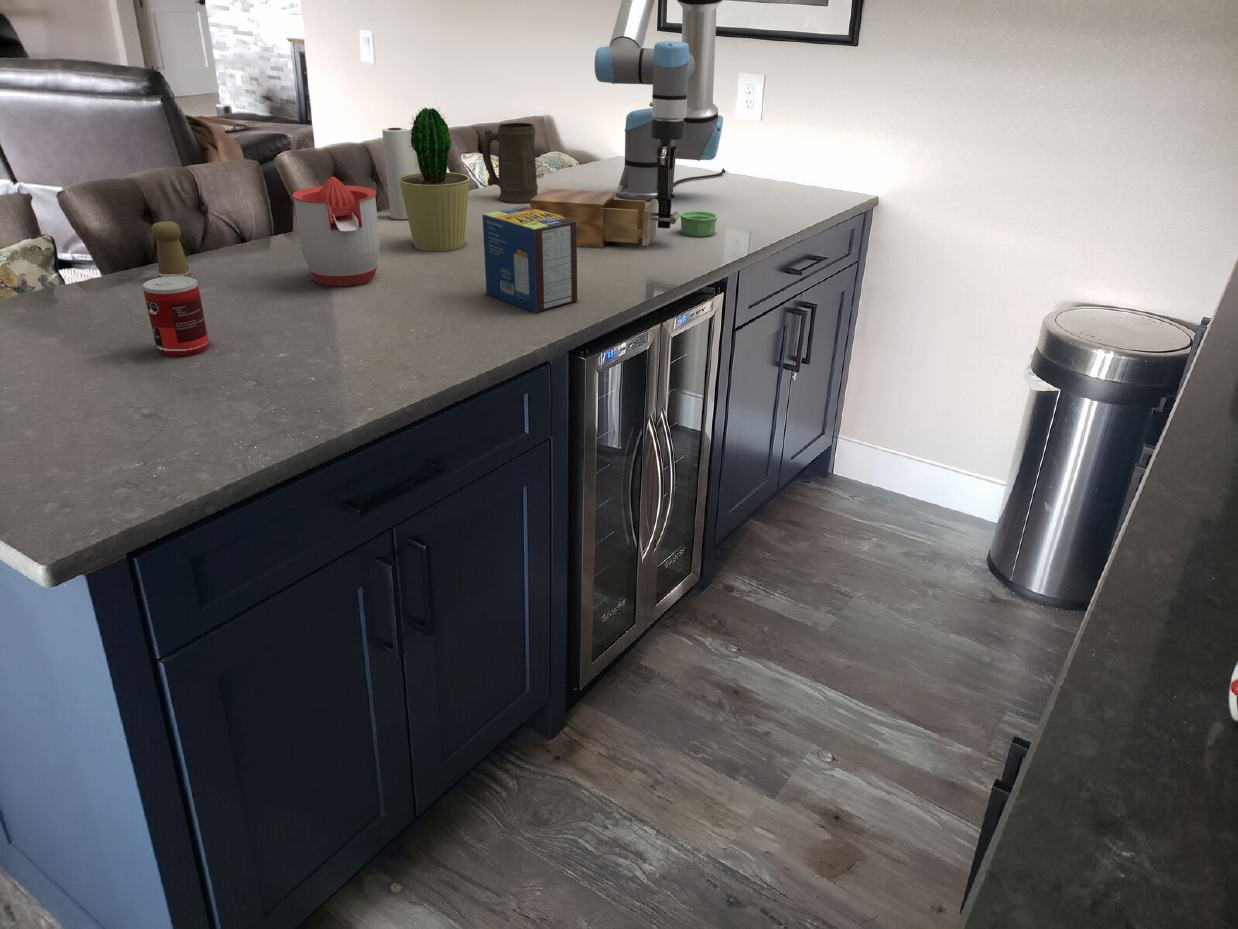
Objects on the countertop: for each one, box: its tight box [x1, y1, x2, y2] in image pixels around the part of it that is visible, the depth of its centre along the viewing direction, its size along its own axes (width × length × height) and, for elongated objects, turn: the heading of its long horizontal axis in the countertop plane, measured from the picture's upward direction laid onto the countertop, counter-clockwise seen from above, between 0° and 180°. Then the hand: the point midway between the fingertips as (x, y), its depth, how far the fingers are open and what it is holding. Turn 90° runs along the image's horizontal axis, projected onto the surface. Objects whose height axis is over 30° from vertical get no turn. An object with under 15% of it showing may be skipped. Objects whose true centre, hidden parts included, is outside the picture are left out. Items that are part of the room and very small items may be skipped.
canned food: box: [142, 276, 210, 357], centre depth 148 cm, size 8×8×11 cm
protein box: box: [482, 205, 578, 313], centre depth 174 cm, size 10×15×16 cm
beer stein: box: [481, 122, 539, 204], centre depth 252 cm, size 15×11×20 cm
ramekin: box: [679, 210, 718, 238], centre depth 225 cm, size 9×9×4 cm
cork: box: [150, 220, 193, 278], centre depth 182 cm, size 6×6×11 cm
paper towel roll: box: [381, 127, 421, 220], centre depth 229 cm, size 7×6×21 cm
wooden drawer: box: [603, 198, 680, 247], centre depth 215 cm, size 21×13×8 cm, turn 79°
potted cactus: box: [399, 106, 471, 252], centre depth 204 cm, size 15×15×30 cm
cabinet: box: [529, 187, 616, 249], centre depth 217 cm, size 17×14×10 cm
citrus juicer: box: [291, 176, 380, 287], centre depth 181 cm, size 16×17×20 cm
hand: (663, 227), depth 214 cm, fingers closed
